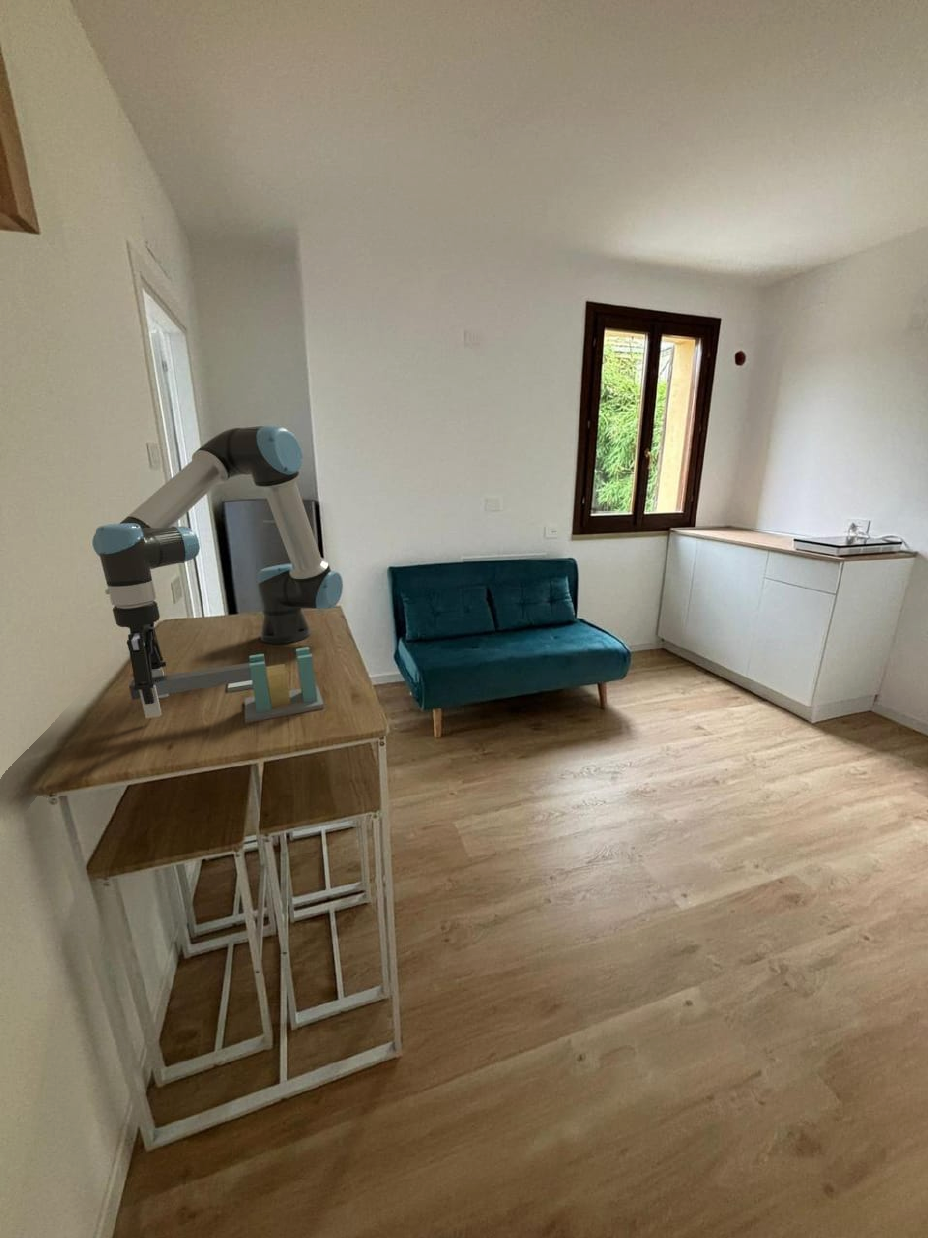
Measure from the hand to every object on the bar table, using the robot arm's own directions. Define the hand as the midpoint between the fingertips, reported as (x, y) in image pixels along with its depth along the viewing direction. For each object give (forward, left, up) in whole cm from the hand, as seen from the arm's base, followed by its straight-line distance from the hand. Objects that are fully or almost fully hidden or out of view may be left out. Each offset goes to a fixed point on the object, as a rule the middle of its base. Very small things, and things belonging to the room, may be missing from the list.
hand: (157, 706), depth 108 cm
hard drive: (-20, +17, -6) cm, 26 cm away
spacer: (0, +24, -4) cm, 24 cm away
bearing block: (0, +24, -5) cm, 25 cm away
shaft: (0, +9, +3) cm, 9 cm away
